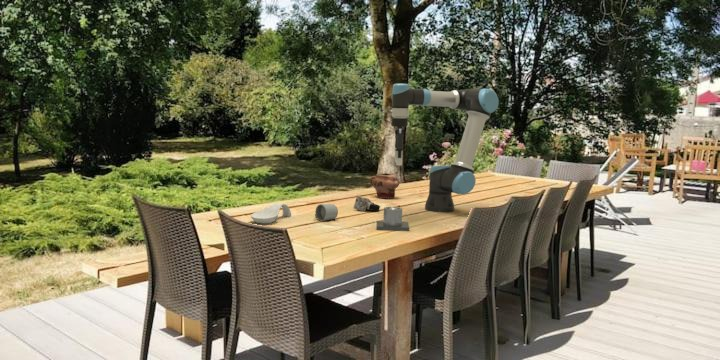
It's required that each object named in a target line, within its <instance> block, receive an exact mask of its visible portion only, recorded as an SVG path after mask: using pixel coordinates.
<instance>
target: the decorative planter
mask: <svg viewBox="0 0 720 360" xmlns="http://www.w3.org/2000/svg"><path fill="white" fill-rule="evenodd" d="M369 184H370V186H372V187H373V188H374V189H375V192H376V196H377V197H378V198H380V199H394V198H395V196H396V189H397V188H398V187H399V185H400V183H399V181H398V178H397V176H396V175H395V174H392V173H378V174H375V175H373V176H371V177H370V178H369Z"/></svg>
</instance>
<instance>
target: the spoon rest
mask: <svg viewBox="0 0 720 360" xmlns="http://www.w3.org/2000/svg"><path fill="white" fill-rule="evenodd" d="M281 208H282V217H288V218H290V217H292V212H291V211H292V210H291V209H290V206H288V205H287V204H285V203H279V202H278V203H277V202H276V203H274V204H272V205H270V206H268V207H265V208H263V209H260V210H258V211H255V212H253V213H251V214H250V219H252V221H254V222H255V223H257V224H261V225H268V224H269V225H270V224H273V222H275V220H276V219H277V218H278V217H279V214H280V210H281Z"/></svg>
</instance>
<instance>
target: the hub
mask: <svg viewBox="0 0 720 360" xmlns="http://www.w3.org/2000/svg"><path fill="white" fill-rule="evenodd" d="M389 208H397V209H395V210H394V209H389ZM382 221H383V224H384V225H387V226H400V225H402V222H403V207H399V206H385V207H383V220H382Z"/></svg>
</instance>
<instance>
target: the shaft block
mask: <svg viewBox="0 0 720 360" xmlns="http://www.w3.org/2000/svg"><path fill="white" fill-rule="evenodd" d="M389 209H394V210H395V209H397V208H389ZM409 224H410V223H409V222H408V221H402V225H400V226H387V225H384V224H383V220H376V231H393V232H395V231H399V232H410V225H409Z"/></svg>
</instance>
